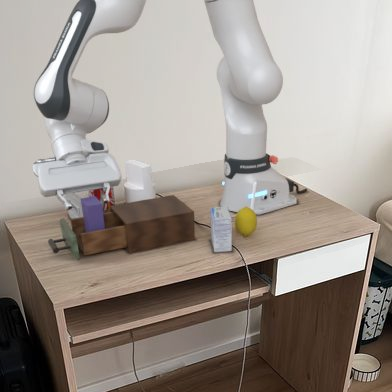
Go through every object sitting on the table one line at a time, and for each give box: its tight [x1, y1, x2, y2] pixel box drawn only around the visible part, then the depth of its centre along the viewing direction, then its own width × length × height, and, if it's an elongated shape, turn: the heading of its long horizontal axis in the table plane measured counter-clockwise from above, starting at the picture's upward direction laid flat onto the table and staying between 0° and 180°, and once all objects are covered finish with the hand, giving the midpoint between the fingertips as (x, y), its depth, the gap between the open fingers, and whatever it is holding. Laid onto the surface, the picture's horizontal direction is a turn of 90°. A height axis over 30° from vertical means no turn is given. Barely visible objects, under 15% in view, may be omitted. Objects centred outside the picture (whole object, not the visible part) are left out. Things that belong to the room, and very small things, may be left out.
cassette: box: [64, 193, 83, 219], centre depth 148 cm, size 12×2×8 cm, turn 32°
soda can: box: [88, 187, 116, 213], centre depth 154 cm, size 7×7×12 cm
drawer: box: [47, 211, 128, 260], centre depth 133 cm, size 21×12×6 cm, turn 114°
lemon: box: [234, 207, 258, 238], centre depth 136 cm, size 6×6×8 cm
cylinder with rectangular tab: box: [123, 158, 157, 203], centre depth 157 cm, size 9×9×12 cm
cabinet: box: [109, 194, 196, 254], centre depth 138 cm, size 18×14×8 cm
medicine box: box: [209, 206, 233, 253], centre depth 132 cm, size 8×4×9 cm, turn 5°
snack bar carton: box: [81, 196, 105, 232], centre depth 131 cm, size 4×6×10 cm, turn 24°
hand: (88, 205), depth 133 cm, fingers open, 8 cm apart
